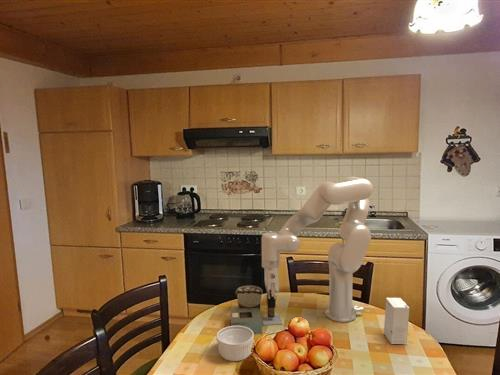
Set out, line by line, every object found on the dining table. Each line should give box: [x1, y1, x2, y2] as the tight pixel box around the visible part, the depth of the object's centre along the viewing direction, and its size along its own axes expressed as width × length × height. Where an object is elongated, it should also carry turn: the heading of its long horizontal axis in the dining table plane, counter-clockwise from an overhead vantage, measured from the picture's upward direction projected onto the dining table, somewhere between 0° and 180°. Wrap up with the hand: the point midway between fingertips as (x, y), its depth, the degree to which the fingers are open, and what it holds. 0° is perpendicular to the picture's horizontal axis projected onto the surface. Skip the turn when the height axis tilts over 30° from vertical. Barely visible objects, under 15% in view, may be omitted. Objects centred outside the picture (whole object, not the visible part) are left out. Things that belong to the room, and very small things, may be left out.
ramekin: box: [216, 325, 255, 362], centre depth 126 cm, size 13×13×7 cm
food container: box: [235, 285, 264, 311], centre depth 161 cm, size 12×6×10 cm, turn 84°
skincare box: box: [383, 297, 410, 345], centre depth 133 cm, size 8×6×15 cm
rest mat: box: [261, 314, 283, 327], centre depth 150 cm, size 8×8×1 cm
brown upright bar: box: [266, 290, 276, 318], centre depth 149 cm, size 3×3×13 cm
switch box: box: [230, 308, 263, 335], centre depth 145 cm, size 12×12×5 cm
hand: (271, 305), depth 149 cm, fingers closed on brown upright bar, 3 cm apart
